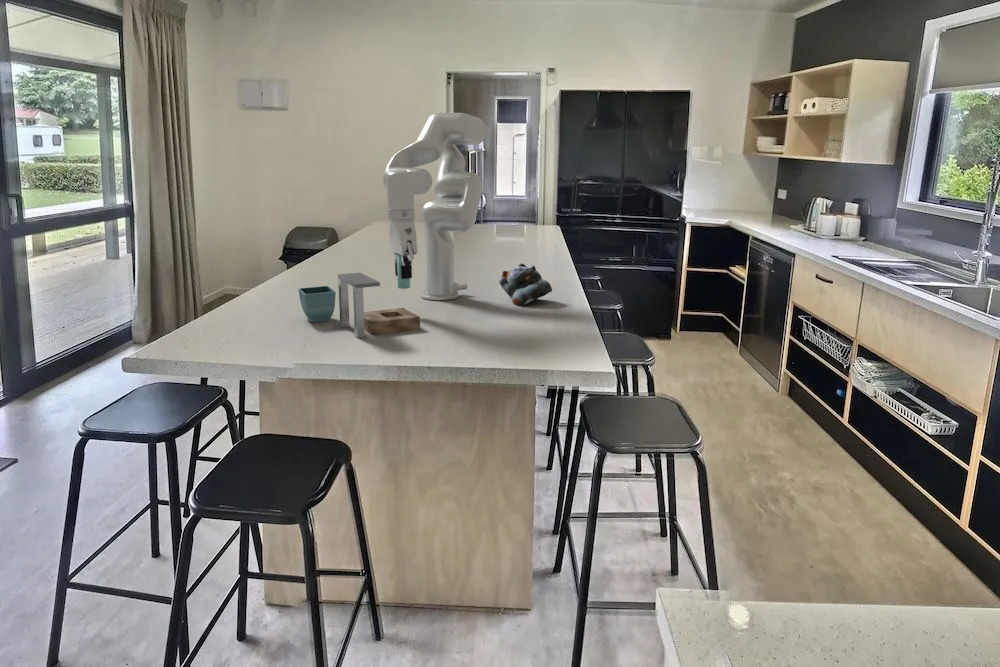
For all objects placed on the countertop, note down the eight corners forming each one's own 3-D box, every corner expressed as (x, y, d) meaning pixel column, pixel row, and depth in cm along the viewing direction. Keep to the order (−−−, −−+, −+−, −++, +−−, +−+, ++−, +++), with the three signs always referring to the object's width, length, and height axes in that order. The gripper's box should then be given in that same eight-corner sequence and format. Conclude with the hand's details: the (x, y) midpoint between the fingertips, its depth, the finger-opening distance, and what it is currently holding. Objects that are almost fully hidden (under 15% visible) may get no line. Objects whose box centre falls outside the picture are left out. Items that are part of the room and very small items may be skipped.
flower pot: (306, 325, 200) (304, 294, 197) (299, 318, 207) (297, 287, 205) (337, 322, 204) (336, 291, 201) (329, 315, 211) (328, 285, 209)
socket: (403, 319, 208) (402, 307, 207) (420, 329, 198) (419, 316, 197) (356, 324, 201) (356, 312, 200) (372, 335, 191) (371, 322, 190)
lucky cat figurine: (517, 308, 224) (500, 267, 225) (507, 314, 236) (491, 275, 236) (558, 291, 228) (541, 251, 229) (547, 298, 240) (531, 260, 240)
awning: (361, 322, 203) (360, 272, 199) (381, 335, 191) (379, 282, 187) (339, 325, 200) (337, 274, 196) (357, 338, 188) (356, 284, 184)
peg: (407, 285, 214) (405, 252, 211) (412, 287, 211) (410, 254, 208) (396, 286, 213) (394, 253, 210) (400, 289, 210) (399, 255, 207)
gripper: (425, 217, 200) (427, 281, 206) (401, 210, 214) (404, 270, 220) (400, 219, 197) (403, 284, 202) (378, 212, 210) (381, 272, 216)
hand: (403, 276), depth 211 cm, fingers closed on peg, 3 cm apart
